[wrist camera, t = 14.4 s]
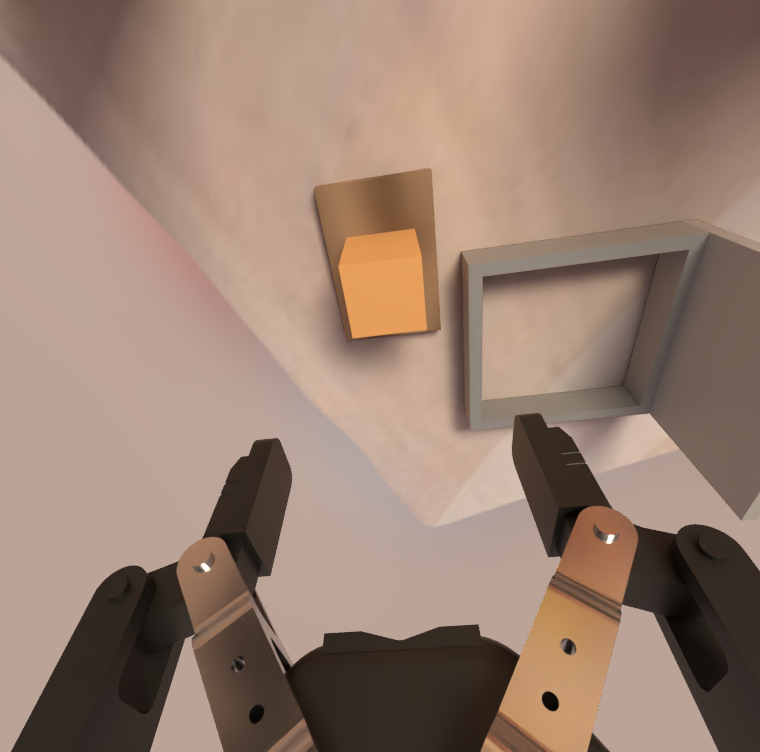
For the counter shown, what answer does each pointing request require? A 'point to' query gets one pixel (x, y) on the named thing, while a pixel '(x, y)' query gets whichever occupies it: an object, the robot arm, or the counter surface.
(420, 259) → the block
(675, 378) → the case
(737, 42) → the counter surface
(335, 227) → the board
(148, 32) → the counter surface
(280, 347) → the counter surface
